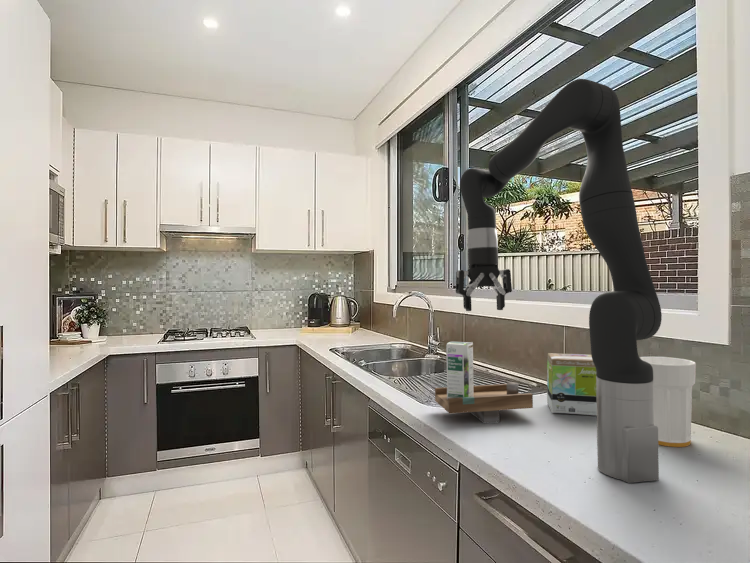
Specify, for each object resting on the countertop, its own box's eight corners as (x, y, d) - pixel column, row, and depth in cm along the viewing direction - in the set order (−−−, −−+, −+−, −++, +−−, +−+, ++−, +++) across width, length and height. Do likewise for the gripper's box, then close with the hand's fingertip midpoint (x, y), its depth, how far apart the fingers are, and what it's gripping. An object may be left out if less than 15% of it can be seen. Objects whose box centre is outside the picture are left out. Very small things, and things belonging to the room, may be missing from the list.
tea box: (551, 414, 120) (551, 358, 120) (546, 404, 130) (546, 352, 129) (614, 417, 116) (613, 359, 116) (604, 406, 126) (603, 353, 126)
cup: (627, 439, 101) (626, 360, 101) (647, 427, 108) (646, 354, 108) (687, 453, 92) (686, 367, 92) (704, 440, 99) (703, 360, 99)
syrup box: (446, 399, 117) (445, 343, 117) (453, 394, 122) (452, 340, 122) (468, 402, 114) (467, 344, 114) (474, 396, 120) (473, 341, 120)
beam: (533, 419, 115) (532, 388, 115) (449, 425, 112) (449, 393, 112) (511, 406, 127) (510, 378, 127) (435, 411, 124) (434, 382, 124)
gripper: (461, 245, 112) (463, 312, 111) (515, 245, 114) (517, 310, 114) (451, 248, 119) (452, 310, 119) (501, 248, 122) (503, 309, 121)
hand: (484, 310), depth 116 cm, fingers open, 8 cm apart
